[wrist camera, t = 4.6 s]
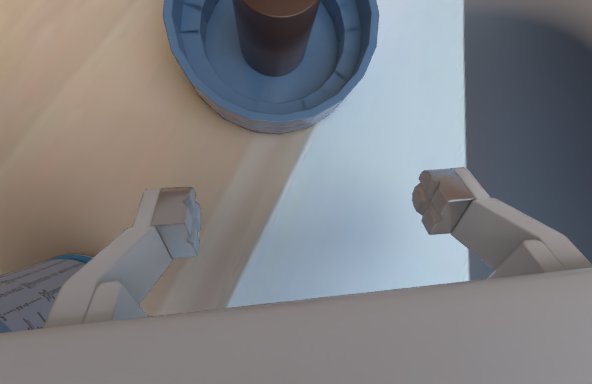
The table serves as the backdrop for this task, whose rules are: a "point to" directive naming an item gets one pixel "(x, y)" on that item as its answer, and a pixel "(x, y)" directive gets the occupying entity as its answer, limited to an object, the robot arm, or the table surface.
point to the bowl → (265, 89)
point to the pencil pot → (274, 33)
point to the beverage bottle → (34, 291)
